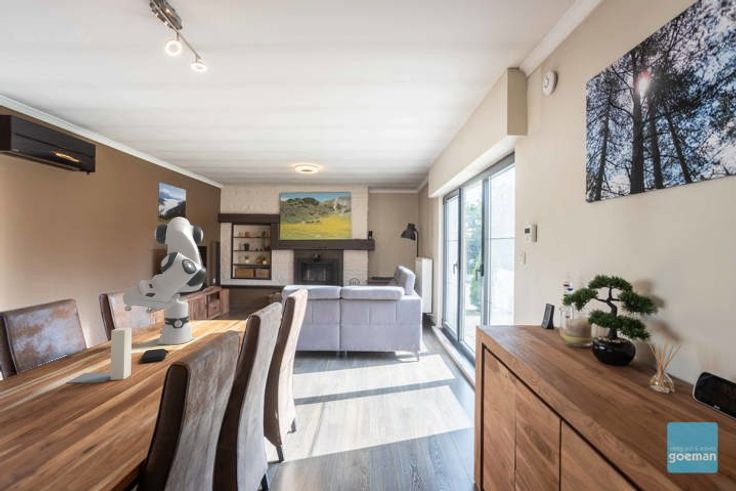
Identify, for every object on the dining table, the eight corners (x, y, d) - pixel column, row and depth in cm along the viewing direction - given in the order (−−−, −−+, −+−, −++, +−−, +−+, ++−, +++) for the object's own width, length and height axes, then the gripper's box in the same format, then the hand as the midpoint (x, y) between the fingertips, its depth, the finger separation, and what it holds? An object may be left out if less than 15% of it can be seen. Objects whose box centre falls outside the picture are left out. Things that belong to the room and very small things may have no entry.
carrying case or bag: (167, 361, 159) (169, 352, 172) (167, 355, 159) (169, 346, 172) (140, 365, 154) (144, 355, 167) (140, 358, 154) (144, 349, 167)
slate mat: (66, 383, 132) (66, 382, 132) (84, 373, 142) (84, 372, 142) (103, 382, 134) (103, 381, 134) (119, 372, 144) (119, 372, 144)
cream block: (110, 379, 136) (111, 330, 136) (118, 375, 141) (119, 327, 141) (123, 379, 137) (124, 330, 137) (130, 374, 142) (131, 327, 142)
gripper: (180, 288, 148) (157, 307, 149) (136, 279, 130) (111, 301, 131) (184, 299, 145) (161, 319, 146) (141, 292, 127) (114, 315, 128)
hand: (137, 311), depth 138 cm, fingers open, 8 cm apart
